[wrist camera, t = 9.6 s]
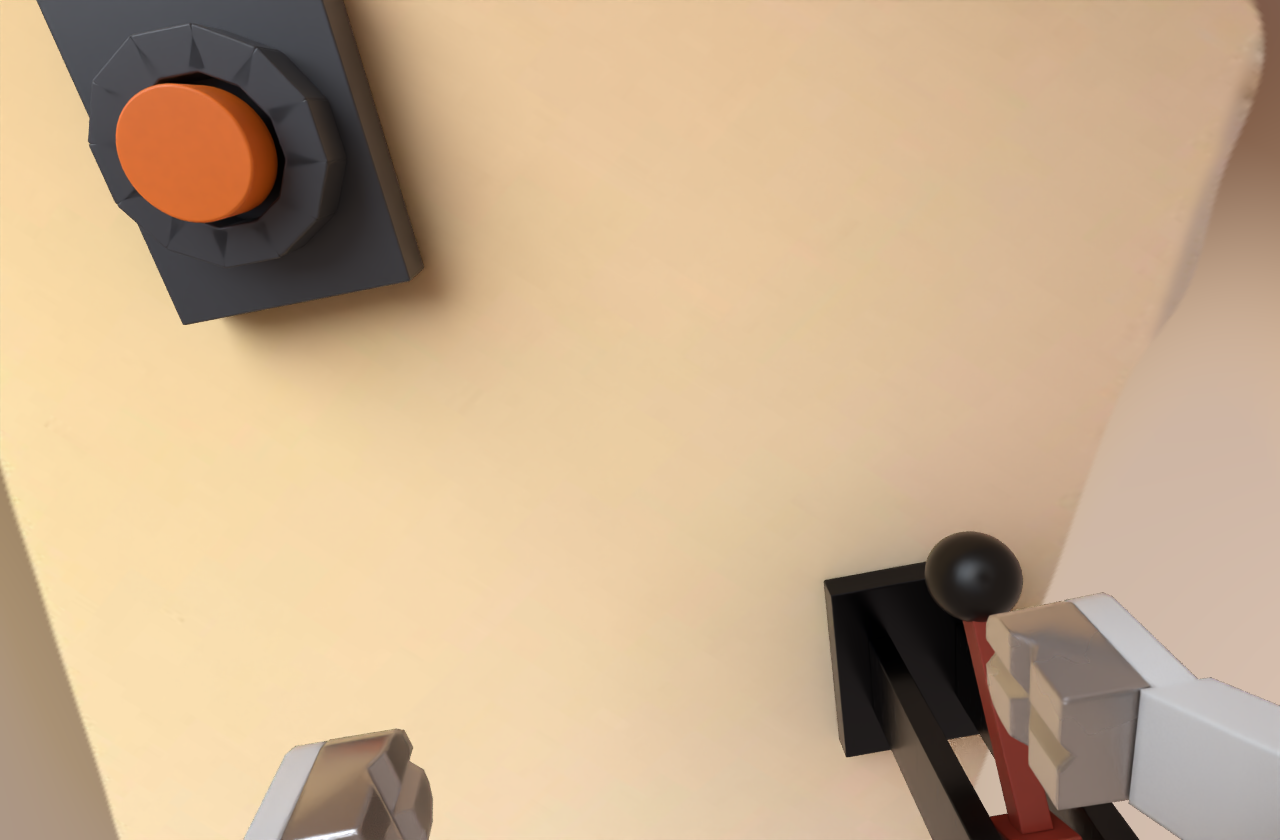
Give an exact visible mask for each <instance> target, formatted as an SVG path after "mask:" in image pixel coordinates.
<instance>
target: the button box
mask: <svg viewBox="0 0 1280 840" xmlns="http://www.w3.org/2000/svg"><path fill="white" fill-rule="evenodd" d="M37 3H38V5H39V7H40V9H41V11H42V14H43V16H44V18H45V20H46V22H47V25H48V27H49V29H50V31H51V34H52V36H53V38H54V40H55V42H56V45H57V47H58V49H59V51H60V53H61V56H62V58H63V60H64V62H65V64H66V67H67V69H68V71H69V73H70V76H71V78H72V80H73V82H74V84H75V87H76V89H77V91H78V93H79V95H80V98H81V100H82V102H83V104H84V107H85V109H86V111H87V113H88V115H89V118H90V120H89V136H88V142H89V143H90V144H89V146H90V149H91V151H92V153H93V155H94V157H95V159H96V162H97V164H98V166H99V168H100V170H101V173H102V175H103V177H104V179H105V181H106V183H107V186H108V188H109V190H110V192H111V194H112V197H113V199H114V201H115V203H116V204H118V207H119V208H120V209H122V210H123V211H124V212H125V213H126V214H127V215H128V216H130V217H131V218H132V219H133V220H134V221H135V222H136V223H137V224H138V226H139V228H140V231H141V233H142V235H143V237H144V239H145V242H146V244H147V246H148V248H149V250H150V253H151V255H152V257H153V259H154V261H155V264H156V266H157V268H158V270H159V273H160V275H161V277H162V279H163V281H164V284H165V286H166V288H167V290H168V292H169V295H170V297H171V299H172V301H173V304H174V306H175V308H176V310H177V312H178V315H179V317H180V319H181V321H182V323H183V325H188V324H193V323H199V322H204V321H209V320H214V319H219V318H224V317H229V316H234V315H239V314H245V313H250V312H255V311H260V310H265V309H270V308H275V307H280V306H285V305H291V304H296V303H301V302H306V301H311V300H316V299H321V298H326V297H331V296H337V295H342V294H347V293H352V292H357V291H362V290H367V289H372V288H377V287H383V286H388V285H393V284H398V283H403V282H408V281H410V280H411V279H412V278H414V277H415V276H416V275H417V274H418V273H419V272H420V271H421V270H422V269H424V265H423V262H422V259H421V256H420V252H419V249H418V246H417V242H416V239H415V236H414V232H413V229H412V226H411V223H410V219H409V216H408V213H407V209H406V206H405V203H404V200H403V196H402V193H401V190H400V186H399V183H398V180H397V176H396V173H395V170H394V167H393V163H392V160H391V157H390V153H389V150H388V147H387V143H386V140H385V137H384V134H383V130H382V127H381V124H380V120H379V117H378V114H377V110H376V107H375V104H374V101H373V97H372V94H371V91H370V87H369V84H368V81H367V78H366V74H365V71H364V68H363V64H362V61H361V58H360V54H359V51H358V48H357V45H356V41H355V38H354V35H353V31H352V28H351V25H350V21H349V18H348V15H347V12H346V8H345V5H344V2H343V0H37ZM165 83H173V84H191V85H205V86H212V87H216V88H220V89H223V90H225V91H227V92H230V93H232V94H233V95H235V96H237V97H239V98H240V99H241V100H243V101H244V102H246V103H247V104H248V105H249V106H250V107H251V108H252V109H254V111H255V112H256V113H257V114H258V115H259V116H260V118H261V119H262V120H263V122H264V123H265V125H266V126H267V128H268V130H269V132H270V134H271V136H272V139H273V141H274V144H275V148H276V153H277V161H278V168H277V176H276V180H275V183H274V186H273V188H272V190H271V192H270V194H269V195H268V196H267V198H266V199H265V200H264V201H263V202H262V203H261V204H260V205H259V206H257V207H256V208H254V209H252V210H250V211H248V212H246V213H242V214H239V215H235V216H232V217H228V218H225V219H222V220H218V221H214V222H207V223H195V222H188V221H184V220H180V219H177V218H175V217H172V216H170V215H168V214H166V213H164V212H162V211H160V210H159V209H157V208H156V207H154V206H153V205H151V204H150V203H149V202H148V201H146V200H145V199H144V198H143V197H142V196H141V195H140V194H139V193H138V192H137V190H136V189H135V188H134V187H133V185H132V184H131V182H130V181H129V179H128V178H127V176H126V174H125V172H124V170H123V168H122V166H121V163H120V160H119V157H118V153H117V148H116V127H117V122H118V119H119V116H120V114H121V112H122V110H123V108H124V107H125V105H126V104H127V102H128V101H129V100H130V99H131V98H132V97H133V96H134V95H135V94H137V93H138V92H140V91H141V90H143V89H145V88H147V87H150V86H154V85H157V84H165Z"/></svg>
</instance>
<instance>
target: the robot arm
mask: <svg viewBox="0 0 1280 840" xmlns="http://www.w3.org/2000/svg"><path fill="white" fill-rule="evenodd" d="M986 639H987V641H988V642H989V644H990V645H991V647H992V648H993V650H994V651H995V653H994V654H993V656H992V657H991V658H990V660H989V661H988V662H987V664H986V669H987V684H988V688H989V692H990V695H991V699H992V703H993V705H994V707H995V710H996V712H997V714H998V716H999V718H1000V720H1001V722H1002V724H1003V725H1004V727H1005V728H1006V730H1007V732H1008V733H1009V735H1010V736H1011V737H1013V738H1015V739H1016V740H1018V741H1020V742H1022V743H1023V744H1025V745H1027V746H1029V752H1028V765H1029V766H1030V768H1031V769H1032V771H1033V773H1034V774H1035V776H1036V777H1037V779H1038V780H1039V782H1040V783H1041V785H1042V787H1043V788H1044V790H1045V791H1046V793H1047V794H1048V796H1049V797H1050V799H1051V800H1052V802H1053V804H1054V805H1055V807H1056V808H1057V810H1063V809H1070V808H1077V807H1084V806H1090V805H1097V804H1104V803H1111V802H1117V801H1124V800H1129V804H1130V805H1132V806H1133V807H1134V808H1136V809H1137V810H1139V811H1140V812H1142V813H1143V814H1145V815H1146V816H1148V817H1149V818H1151V819H1152V820H1154V821H1155V822H1157V823H1158V824H1159V825H1161V826H1163V827H1164V828H1165V829H1167V830H1168V831H1170V832H1171V833H1173V834H1174V835H1176V836H1177V837H1178V838H1180V839H1181V840H1280V705H1277V704H1275V703H1272V702H1270V701H1268V700H1265V699H1262V698H1260V697H1258V696H1255V695H1253V694H1250V693H1248V692H1246V691H1243V690H1241V689H1238V688H1236V687H1233V686H1231V685H1228V684H1226V683H1223V682H1221V681H1218V680H1216V679H1214V678H1211V677H1210V678H1203V679H1198V678H1197V677H1196V676H1195V675H1193V674H1192V673H1191V672H1190V671H1189V670H1188V669H1187V668H1186V667H1185V666H1184V665H1183V664H1182V663H1181V662H1180V661H1179V660H1178V659H1177V658H1176V657H1175V656H1174V655H1172V653H1171V652H1170V651H1169V650H1168V649H1166V648H1165V647H1164V646H1163V645H1162V644H1161V643H1160V642H1159V641H1158V640H1157V639H1156V638H1155V637H1154V636H1153V635H1152V634H1151V633H1150V632H1149V631H1148V630H1147V629H1146V628H1145V627H1144V626H1143V625H1142V624H1140V622H1138V621H1137V620H1136V619H1135V618H1134V617H1133V616H1132V615H1131V614H1130V613H1129V612H1128V611H1127V610H1126V609H1125V608H1124V607H1123V606H1122V605H1121V604H1120V603H1119V602H1118V601H1117V600H1116V599H1114V597H1112V596H1110V595H1108V594H1106V593H1103V592H1102V593H1097V594H1093V595H1088V596H1083V597H1078V598H1073V599H1068V600H1065V601H1063V602H1061V601H1059V602H1054V603H1050V604H1044V605H1039V606H1034V607H1029V608H1024V609H1019V610H1014V611H1009V612H1004V613H999V614H994V615H989V618H988V620H987V623H986ZM412 749H413V746H412V744H411V742H410V740H409V738H408V736H407V734H406V732H405V730H401V729H391V730H385V731H379V732H373V733H367V734H361V735H355V736H349V737H343V738H337V739H330V740H329V741H324V742H317V743H311V744H305V745H298V746H295V747H294V748H292V749H291V750H290V751H289V752H288V753H287V754H286V755H285V756H284V758H283V760H282V762H281V764H280V766H279V768H278V770H277V772H276V774H275V776H274V778H273V780H272V783H271V785H270V787H269V789H268V791H267V793H266V795H265V797H264V799H263V801H262V803H261V805H260V807H259V809H258V811H257V813H256V815H255V817H254V819H253V821H252V823H251V825H250V827H249V829H248V831H247V833H246V835H245V837H244V839H243V840H429V836H430V831H431V827H432V822H433V797H432V793H431V788H430V783H429V780H428V778H427V776H426V774H425V771H424V769H422V768H420V767H419V766H417V765H415V764H413V763H412V762H410V761H409V760H410V756H411V753H412Z"/></svg>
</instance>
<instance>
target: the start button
mask: <svg viewBox="0 0 1280 840" xmlns="http://www.w3.org/2000/svg"><path fill="white" fill-rule="evenodd" d="M116 148H117V153H118V157H119V160H120V163H121V166H122V168H123V170H124V172H125V174H126V176H127V178H128V179H129V181H130V182H131V184H132V185H133V187H134V188H135V189H136V190H137V192H138V193H139V194H140V195H141V196H142V197H143V198H144V199H145V200H146V201H148V202H149V203H150V204H151V205H153V206H154V207H156V208H157V209H159V210H160V211H162V212H164V213H166V214H168V215H170V216H172V217H175V218H177V219H180V220H184V221H188V222H195V223H207V222H214V221H218V220H222V219H225V218H228V217H232V216H235V215H239V214H242V213H246V212H248V211H250V210H252V209H254V208H256V207H257V206H259V205H260V204H261V203H262V202H263V201H264V200H265V199H266V198H267V196H268V195H269V194H270V192H271V190H272V188H273V186H274V183H275V180H276V176H277V168H278V161H277V153H276V148H275V144H274V141H273V139H272V136H271V134H270V132H269V130H268V128H267V126H266V125H265V123H264V122H263V120H262V119H261V118H260V116H259V115H258V114H257V113H256V112H255V111H254V109H252V108H251V107H250V106H249V105H248V104H247V103H246V102H244V101H243V100H241V99H240V98H239V97H237V96H235V95H233V94H232V93H230V92H227V91H225V90H223V89H220V88H216V87H212V86H205V85H191V84H173V83H165V84H157V85H154V86H150V87H147V88H145V89H143V90H141V91H140V92H138V93H137V94H135V95H134V96H133V97H132V98H131V99H130V100H129V101H128V102H127V104H126V105H125V107H124V108H123V110H122V112H121V114H120V116H119V119H118V122H117V127H116Z"/></svg>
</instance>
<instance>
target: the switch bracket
mask: <svg viewBox="0 0 1280 840" xmlns="http://www.w3.org/2000/svg"><path fill="white" fill-rule="evenodd" d="M925 565H926V562H922V563H917V564H911V565H906V566H900V567H895V568H889V569H884V570H878V571H873V572H867V573H862V574H857V575H851V576H846V577H840V578H835V579H829V580H825V581H824V589H825V599H826V609H827V620H828V630H829V640H830V650H831V660H832V671H833V681H834V691H835V701H836V711H837V722H838V732H839V740H840V742H841V745H842V748H843V750H844V753H845V755H846V757H853V756H858V755H864V754H869V753H875V752H881V751H886V750H892V752H893V755H894V757H895V759H896V761H897V763H898V766H899V768H900V770H901V772H902V774H903V776H904V779H905V781H906V783H907V785H908V787H909V790H910V792H911V794H912V796H913V798H914V800H915V803H916V805H917V807H918V809H919V811H920V814H921V816H922V818H923V820H924V822H925V825H926V827H927V829H928V831H929V833H930V835H931V838H932V840H1002V838H1001V837H1000V835H999V833H998V831H997V829H996V828H995V826H994V824H993V822H992V820H991V818H990V817H989V815H988V813H987V811H986V810H985V808H984V806H983V804H982V802H981V800H980V799H979V797H978V795H977V793H976V791H975V790H974V788H973V786H972V784H971V782H970V781H969V779H968V777H967V775H966V773H965V771H964V770H963V768H962V766H961V764H960V762H959V761H958V759H957V757H956V755H955V753H954V752H953V750H952V748H951V746H950V744H949V743H948V741H947V740H949V739H954V738H960V737H965V736H971V735H977V734H980V736H981V737H982V739H983V741H984V742H985V744H986V746H987V747H988V749H989V750H990V752H991V754H992V755H993V757H994V753H993V749H992V744H991V740H990V736H989V731H988V727H987V723H986V719H985V714H984V710H983V706H982V701H981V697H980V693H979V689H978V684H977V680H976V676H975V671H974V667H973V663H972V658H971V654H970V650H969V646H968V641H967V637H966V633H965V628H964V624H963V620H960V619H957V618H955V617H953V616H951V615H950V614H948V613H946V612H945V611H944V610H943V609H941V608H940V607H939V606H938V605H937V603H936V602H935V601H934V600H933V598H932V597H931V595H930V593H929V591H928V588H927V585H926V581H925ZM994 759H995V757H994ZM1045 794H1046V798H1047V802H1048V806H1049V810H1050V811H1051V812H1052V813H1053V814H1055V815H1056V816H1057V817H1058V818H1059V819H1061V820H1062V821H1063V822H1064V823H1066V824H1067V825H1068V826H1069V827H1070V828H1072V829H1073V830H1074V831H1075V832H1077V833H1078V834H1079V835H1080V836H1081V837H1082V839H1083V840H1139V839H1138V837H1137V836H1136V835H1135V833H1134V832H1133V831H1132V829H1131V828H1130V826H1129V825H1128V824H1127V822H1126V821H1125V820H1124V818H1123V817H1122V816H1121V814H1120V813H1119V812H1118V810H1117V809H1116V808H1115V806H1114V805H1113V803H1112V802H1111V803H1104V804H1097V805H1090V806H1084V807H1077V808H1070V809H1063V810H1057V808H1056V807H1055V805H1054V804H1053V802H1052V800H1051V799H1050V797H1049V796H1048V794H1047V793H1046V791H1045Z"/></svg>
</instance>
